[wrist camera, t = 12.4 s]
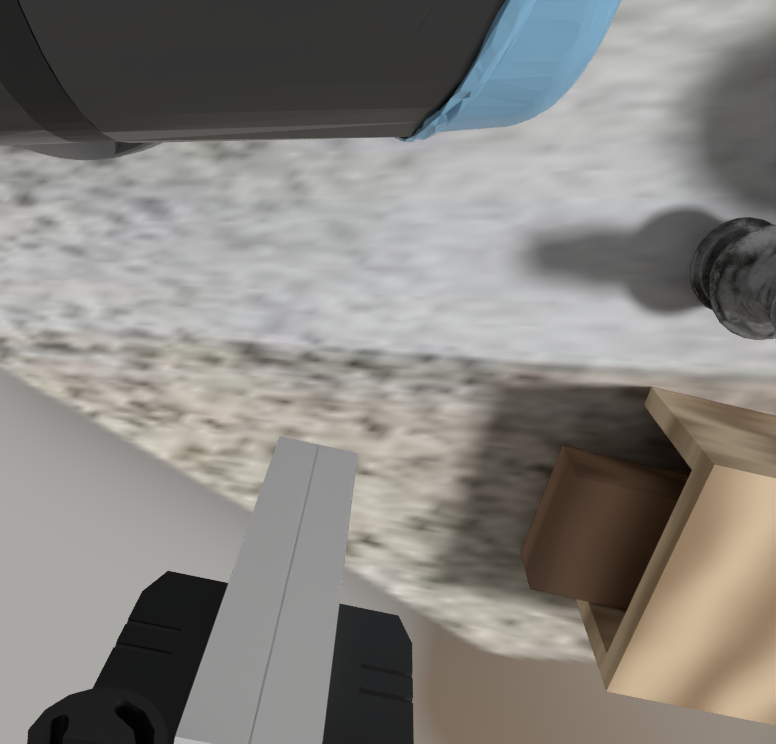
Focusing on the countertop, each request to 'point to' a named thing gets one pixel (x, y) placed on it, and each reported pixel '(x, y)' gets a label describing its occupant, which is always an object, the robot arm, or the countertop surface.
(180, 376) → the countertop surface
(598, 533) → the dark brown block
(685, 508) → the oak bridge
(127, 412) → the countertop surface
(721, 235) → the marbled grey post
